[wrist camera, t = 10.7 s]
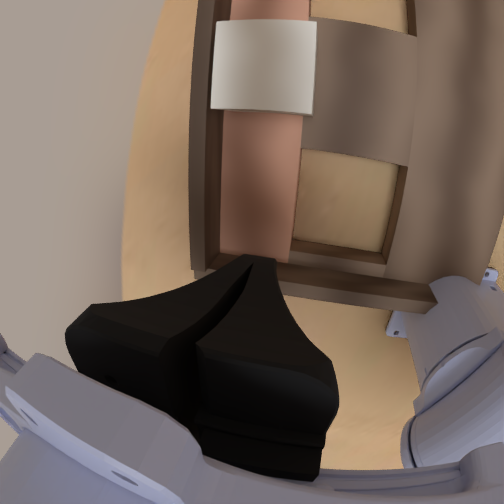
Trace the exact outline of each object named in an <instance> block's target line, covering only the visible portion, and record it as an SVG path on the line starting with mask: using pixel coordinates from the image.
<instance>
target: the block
mask: <svg viewBox="0 0 504 504" xmlns="http://www.w3.org/2000/svg"><path fill="white" fill-rule="evenodd" d="M317 50H318V36H317V22H314V21H302V20H281V19H251V20H230V21H217V22H216V33H215V46H214V59H213V73H212V90H211V109H219V110H228V111H242V112H263V113H278V114H290V115H300V116H309V117H313V114H314V100H315V86H316V70H317Z"/></svg>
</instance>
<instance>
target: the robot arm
mask: <svg viewBox="0 0 504 504" xmlns="http://www.w3.org/2000/svg"><path fill="white" fill-rule="evenodd" d="M276 270H277V260H276V259H275V258H269V257H263V256H256V255H250V254H243V255H241V256H239V257H237V258H236V259H234V260H233V261H231V262H229V263H228V264H226V265H224V266H223V267H221V268H219V269H218V270H216V271H214V272H212V273H210V274H208V275H206V276H205V277H203V278H201V279H199V280H197V281H195V282H192V283H190V284H188V285H185V286H182V287H180V288H177V289H174V290H171V291H168V292H164V293H161V294H157V295H154V296H150V297H146V298H141V299H136V300H130V301H123V302H113V303H102V304H91V305H90V306H89V307H88V308H87V309H86V310H85V311H84V312H83V313H82V314H81V315H80V316H79V317H78V318H77V319H76V320H75V321H74V322H73V323H72V324H71V325H70V326H69V327H68V328H67V329H66V332H65V341H66V346H67V349H68V351H69V354H70V356H71V358H72V360H73V362H74V364H75V366H76V368H77V370H78V372H77V371H75V370H74V369H72V368H70V367H68V366H66V365H64V364H63V363H61V362H59V361H57V360H55V359H54V358H52V357H49V356H46V355H44V354H40V353H35V354H34V355H33V357H31V358H30V359H29V361H27V362H26V361H25V360H23V359H22V358H21V357H19V356H18V355H17V354H15V353H14V352H12V351H11V350H10V349H9V348H8V346H7V344H6V342H5V340H4V338H3V337H2V335H1V334H0V416H1V417H2V418H3V419H4V420H5V421H6V422H7V423H8V424H9V425H10V426H11V427H12V428H13V429H14V430H15V431H16V432H17V433H18V434H19V436H18V438H17V439H16V441H15V442H14V443H13V444H12V446H11V447H10V448H9V450H8V451H7V453H6V454H5V456H4V457H3V458H2V460H1V461H0V504H504V292H503V291H502V290H501V289H500V287H499V286H498V285H497V284H496V279H497V277H498V271H497V270H496V269H493V268H488V267H487V269H486V271H485V273H486V272H487V274H486V275H485V274H484V277H483V279H482V282H481V284H480V286H479V285H477V284H475V283H473V282H472V281H471V280H469V279H467V278H465V277H461V276H447V277H443V278H440V279H438V280H436V281H434V282H432V283H430V284H429V286H430V288H431V290H432V292H433V294H434V296H435V298H436V299H437V301H438V304H437V305H436V306H434V307H433V308H432V309H430V310H429V311H428V312H427V313H426V314H418V313H410V312H401V311H393V313H392V315H391V318H390V320H389V323H388V325H387V328H386V335H387V336H391V337H401V338H407V339H408V342H409V346H410V349H411V353H412V357H413V361H414V365H415V369H416V373H417V378H418V382H419V387H420V391H421V394H420V395H419V396H418V397H417V398H416V399H415V400H414V401H413V404H414V410H415V416H413V417H412V418H410V419H409V420H408V421H407V423H406V424H405V426H404V428H403V430H402V434H401V442H400V453H401V460H402V464H403V467H404V469H391V470H336V469H321V468H320V463H321V455H322V449H323V448H324V446H325V439H326V432H327V430H328V429H329V427H330V425H331V423H332V422H333V420H334V418H335V416H336V414H337V411H338V408H339V391H338V384H337V379H336V375H335V371H334V367H333V364H332V361H331V360H330V359H329V358H328V357H327V356H326V355H325V354H324V353H323V352H322V351H320V350H319V349H318V348H317V347H316V346H315V345H314V344H313V343H312V342H311V341H310V340H309V339H308V338H307V337H306V335H305V334H304V332H303V331H302V330H301V328H300V327H299V326H298V324H297V323H296V321H295V320H294V318H293V316H292V315H291V313H290V311H289V309H288V307H287V305H286V303H285V300H284V298H283V295H282V292H281V289H280V286H279V282H278V278H277V271H276ZM395 331H397V332H395Z"/></svg>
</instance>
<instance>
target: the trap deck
mask: <svg viewBox="0 0 504 504" xmlns="http://www.w3.org/2000/svg"><path fill="white" fill-rule="evenodd" d="M406 1H407V15H408V34H404V33H401V32H397V31H393V30H389V29H385V28H381V27H376V26H371V25H366V24H361V23H355V22H349V21H343V20H335V19H327V18H318V17H310V9H311V0H198V8H197V17H196V27H195V37H194V49H193V62H192V77H191V95H190V119H189V233H190V258H191V270H194V276H195V279H198V280H199V279H201V278H203V277H205V276H206V275H208V274H210V273H212V272H214V271H216V270H218V269H219V268H221V267H223V266H224V265H226V264H228V263H229V262H231V261H233V260H234V259H236V258H237V257H239V256H241V255H243V254H250V255H256V256H263V257H269V258H275V259H276V260H277V270H276V271H277V278H278V282H279V286H280V289H281V292H282V295H288V296H294V297H301V298H307V299H314V300H320V301H327V302H334V303H341V304H348V305H355V306H362V307H370V308H377V309H385V310H393V311H401V312H410V313H418V314H426V313H427V312H428V311H429V310H430V309H432V308H433V307H434V306H436V305H437V304H438V301H437V299H436V298H435V296H434V294H433V292H432V290H431V288H430V286H429V284H430V283H432V282H434V281H436V280H438V279H440V278H443V277H447V276H461V277H465V278H467V279H469V280H471V281H472V282H473V283H475V284H477V285H479V286H480V284H481V282H482V279H483V277H484V274H485V271H486V269H487V266H488V264H489V261H490V258H491V255H492V252H493V249H494V246H495V243H496V240H497V237H498V234H499V230H500V227H501V223H502V220H503V216H504V0H406ZM251 19H281V20H302V21H314V22H317V36H318V50H317V70H316V86H315V100H314V114H313V117H309V116H300V115H290V114H278V113H263V112H242V111H228V110H219V109H211V90H212V73H213V59H214V46H215V33H216V22H217V21H230V20H251ZM302 148H305V149H313V150H320V151H327V152H334V153H340V154H346V155H352V156H358V157H364V158H369V159H374V160H379V161H384V162H389V163H394V164H398V165H400V167H399V173H398V179H397V185H396V190H395V196H394V201H393V206H392V211H391V215H390V220H389V224H388V229H387V233H386V237H385V241H384V245H383V249H382V253H377V252H371V251H364V250H358V249H352V248H345V247H339V246H333V245H326V244H320V243H313V242H306V241H300V240H293V239H292V238H293V229H294V221H295V212H296V203H297V194H298V185H299V175H300V165H301V154H302Z"/></svg>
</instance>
